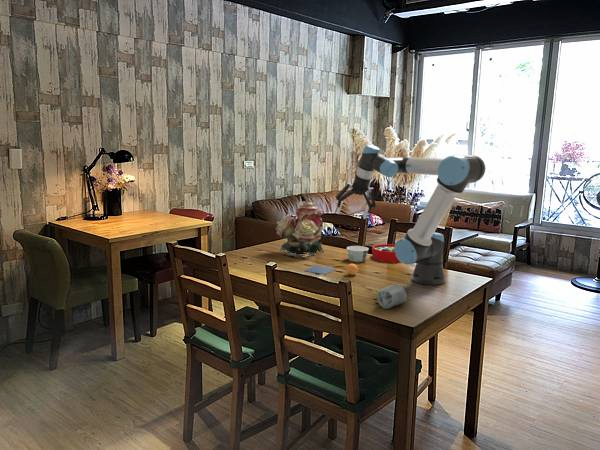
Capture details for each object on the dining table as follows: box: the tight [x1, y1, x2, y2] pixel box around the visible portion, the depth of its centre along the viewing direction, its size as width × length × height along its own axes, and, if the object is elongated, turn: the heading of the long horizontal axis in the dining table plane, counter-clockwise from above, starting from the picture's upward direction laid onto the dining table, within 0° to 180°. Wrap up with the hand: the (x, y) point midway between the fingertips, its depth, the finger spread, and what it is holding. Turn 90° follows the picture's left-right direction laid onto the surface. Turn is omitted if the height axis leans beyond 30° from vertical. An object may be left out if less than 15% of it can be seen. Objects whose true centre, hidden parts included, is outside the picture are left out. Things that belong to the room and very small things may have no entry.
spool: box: [376, 284, 408, 310], centre depth 202 cm, size 14×10×10 cm
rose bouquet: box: [275, 200, 325, 259], centre depth 289 cm, size 26×29×30 cm
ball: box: [345, 263, 359, 276], centre depth 247 cm, size 6×6×6 cm
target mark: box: [304, 265, 336, 275], centre depth 255 cm, size 12×12×1 cm
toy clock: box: [371, 243, 401, 263], centre depth 283 cm, size 20×6×20 cm
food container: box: [346, 245, 369, 263], centre depth 277 cm, size 12×12×6 cm
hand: (351, 215), depth 254 cm, fingers open, 13 cm apart
